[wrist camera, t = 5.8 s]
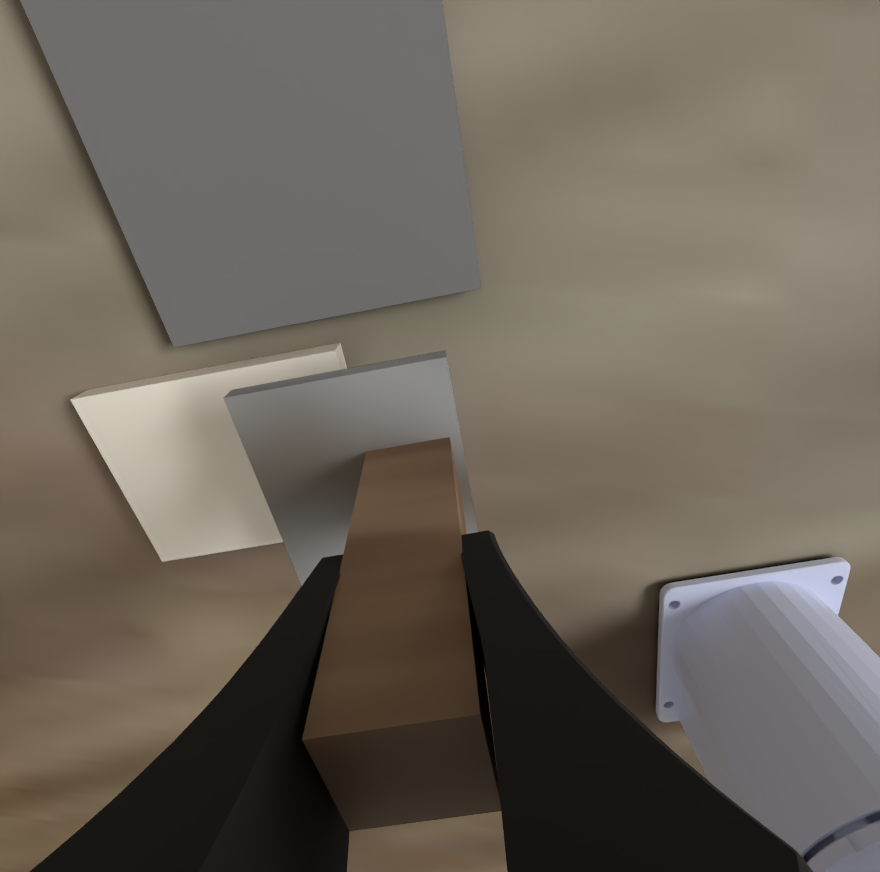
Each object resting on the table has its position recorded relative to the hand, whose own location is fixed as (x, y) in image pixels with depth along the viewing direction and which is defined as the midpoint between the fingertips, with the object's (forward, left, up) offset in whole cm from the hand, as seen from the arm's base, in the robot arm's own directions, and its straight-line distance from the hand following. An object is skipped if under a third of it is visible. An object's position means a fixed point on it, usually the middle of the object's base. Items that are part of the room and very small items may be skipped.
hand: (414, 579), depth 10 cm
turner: (0, +2, -5) cm, 5 cm away
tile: (0, +2, -8) cm, 8 cm away
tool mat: (+9, +2, -8) cm, 13 cm away
